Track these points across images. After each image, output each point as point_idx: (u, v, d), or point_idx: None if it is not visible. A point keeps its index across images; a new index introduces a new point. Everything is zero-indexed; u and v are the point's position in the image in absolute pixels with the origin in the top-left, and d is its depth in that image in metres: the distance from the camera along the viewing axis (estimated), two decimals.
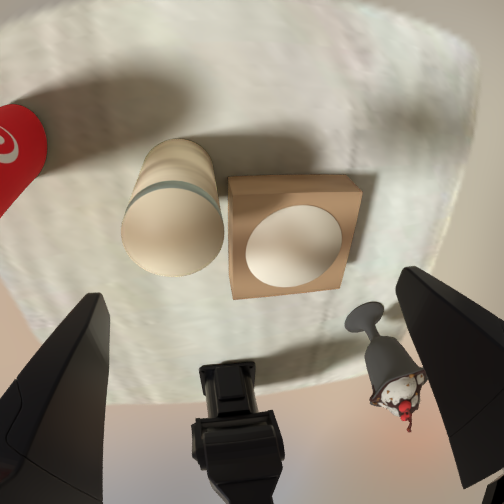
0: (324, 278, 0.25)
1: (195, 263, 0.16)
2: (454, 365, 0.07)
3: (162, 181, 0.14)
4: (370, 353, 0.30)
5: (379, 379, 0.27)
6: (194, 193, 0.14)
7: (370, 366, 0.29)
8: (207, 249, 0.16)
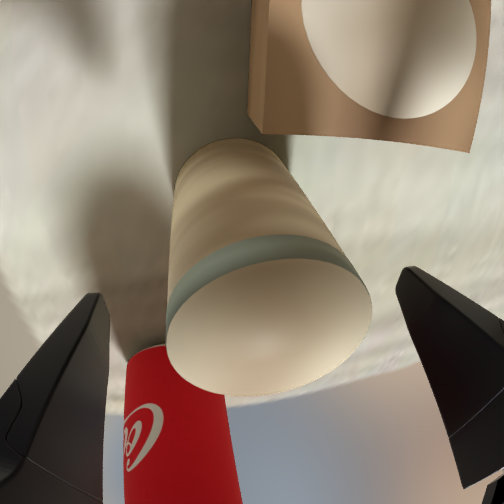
0: None
1: (350, 308, 0.07)
2: (454, 365, 0.07)
3: None
4: None
5: None
6: (174, 317, 0.06)
7: None
8: (323, 290, 0.07)
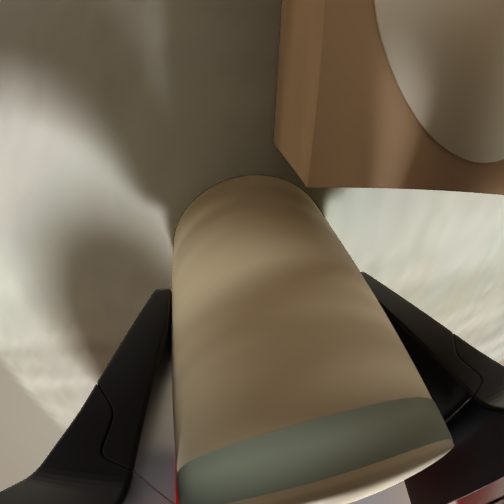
0: None
1: (427, 461, 0.04)
2: None
3: None
4: None
5: None
6: None
7: None
8: (406, 466, 0.03)
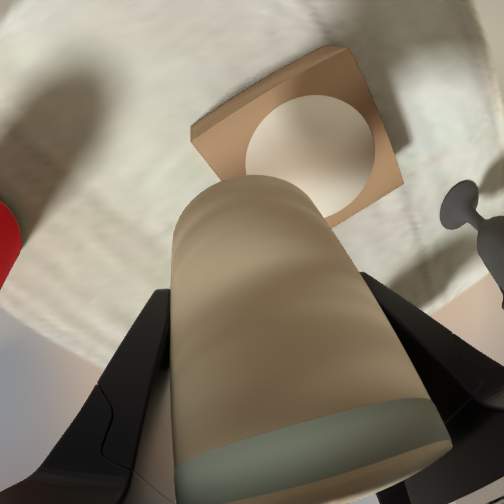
0: (376, 179, 0.17)
1: (426, 462, 0.04)
2: None
3: None
4: (482, 247, 0.19)
5: None
6: None
7: (488, 264, 0.19)
8: (405, 467, 0.03)
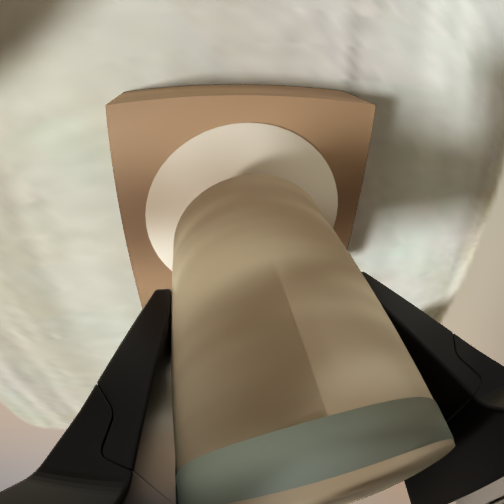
0: None
1: (428, 461, 0.04)
2: None
3: None
4: None
5: None
6: None
7: None
8: (407, 466, 0.03)
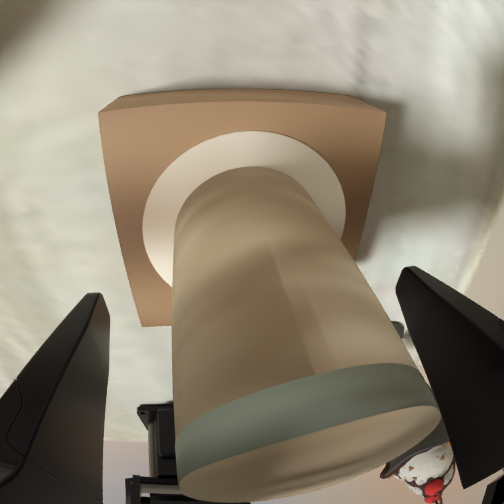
0: None
1: (416, 432, 0.04)
2: (454, 365, 0.07)
3: None
4: None
5: None
6: (190, 476, 0.04)
7: None
8: (393, 431, 0.04)
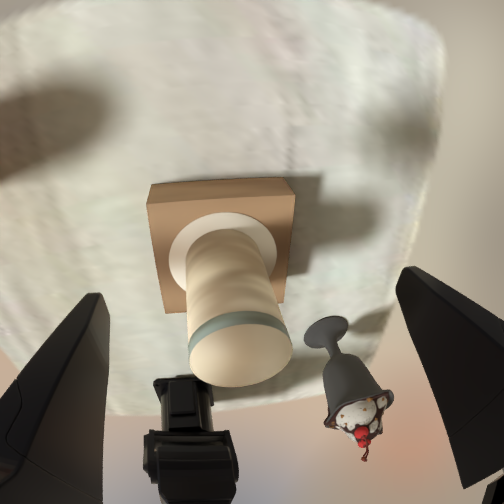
0: None
1: (278, 343, 0.15)
2: (454, 365, 0.07)
3: None
4: (327, 372, 0.28)
5: (334, 402, 0.25)
6: (194, 348, 0.14)
7: (326, 387, 0.27)
8: (262, 336, 0.14)
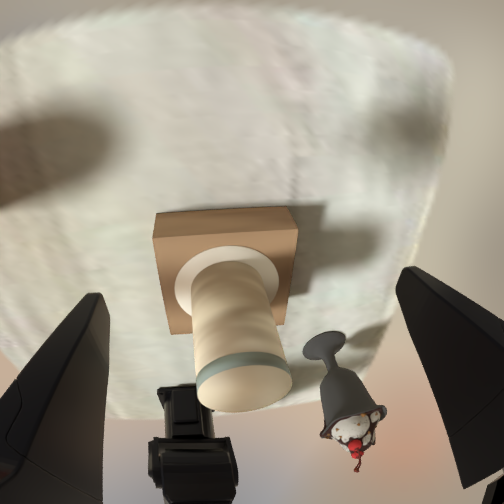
0: None
1: (279, 379, 0.15)
2: (454, 365, 0.07)
3: None
4: (324, 386, 0.28)
5: (330, 415, 0.26)
6: (202, 384, 0.15)
7: (323, 400, 0.28)
8: (265, 374, 0.15)
